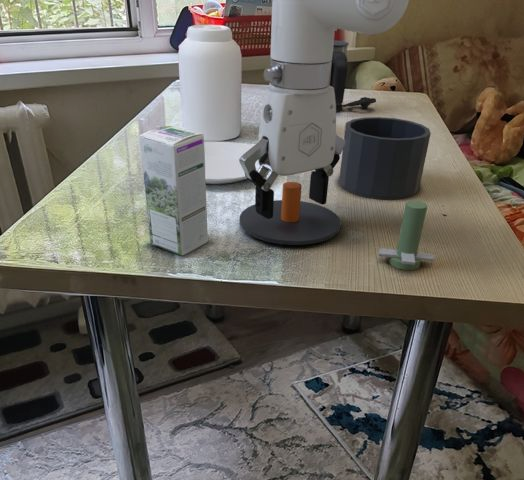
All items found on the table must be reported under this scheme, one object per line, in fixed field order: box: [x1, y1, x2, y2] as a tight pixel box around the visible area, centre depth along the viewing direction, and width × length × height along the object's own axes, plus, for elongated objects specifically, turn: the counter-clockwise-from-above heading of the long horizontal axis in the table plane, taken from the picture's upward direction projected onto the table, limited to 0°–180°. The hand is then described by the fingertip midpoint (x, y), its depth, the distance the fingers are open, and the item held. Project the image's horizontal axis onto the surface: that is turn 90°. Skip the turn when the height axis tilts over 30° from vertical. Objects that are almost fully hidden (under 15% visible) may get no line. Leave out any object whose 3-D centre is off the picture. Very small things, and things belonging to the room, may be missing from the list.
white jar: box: [177, 24, 243, 142], centre depth 111 cm, size 12×12×20 cm
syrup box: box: [139, 125, 209, 257], centre depth 69 cm, size 6×6×14 cm
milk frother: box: [330, 39, 377, 112], centre depth 134 cm, size 14×16×15 cm
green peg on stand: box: [378, 199, 435, 271], centre depth 69 cm, size 7×7×8 cm
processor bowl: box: [338, 116, 432, 200], centre depth 92 cm, size 14×14×10 cm
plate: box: [204, 141, 260, 185], centre depth 97 cm, size 21×21×2 cm
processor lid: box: [239, 181, 342, 246], centre depth 78 cm, size 15×15×6 cm
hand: (291, 208), depth 78 cm, fingers open, 9 cm apart
